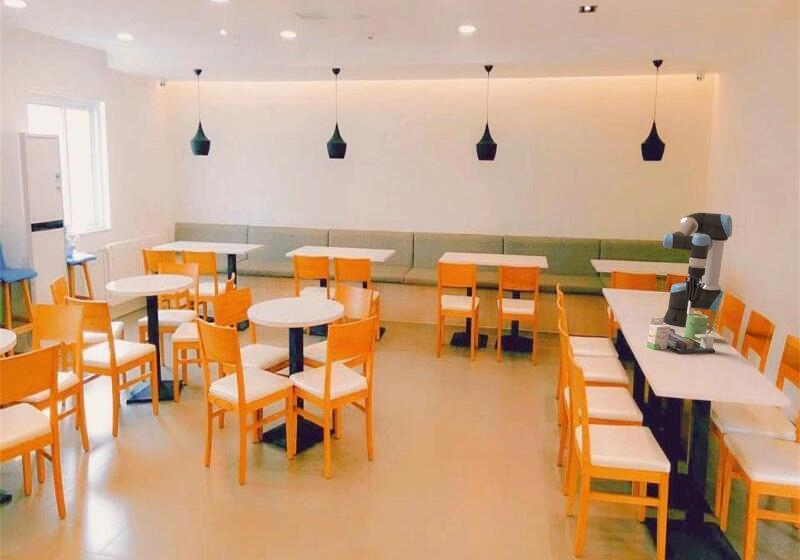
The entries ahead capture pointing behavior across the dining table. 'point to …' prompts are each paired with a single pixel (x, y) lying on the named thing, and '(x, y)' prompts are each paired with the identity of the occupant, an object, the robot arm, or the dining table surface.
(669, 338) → the heat sink
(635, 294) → the dining table surface
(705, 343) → the lug slider
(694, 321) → the mug
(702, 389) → the dining table surface
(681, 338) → the strap
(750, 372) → the dining table surface
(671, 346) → the base tray
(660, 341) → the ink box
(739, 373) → the dining table surface
